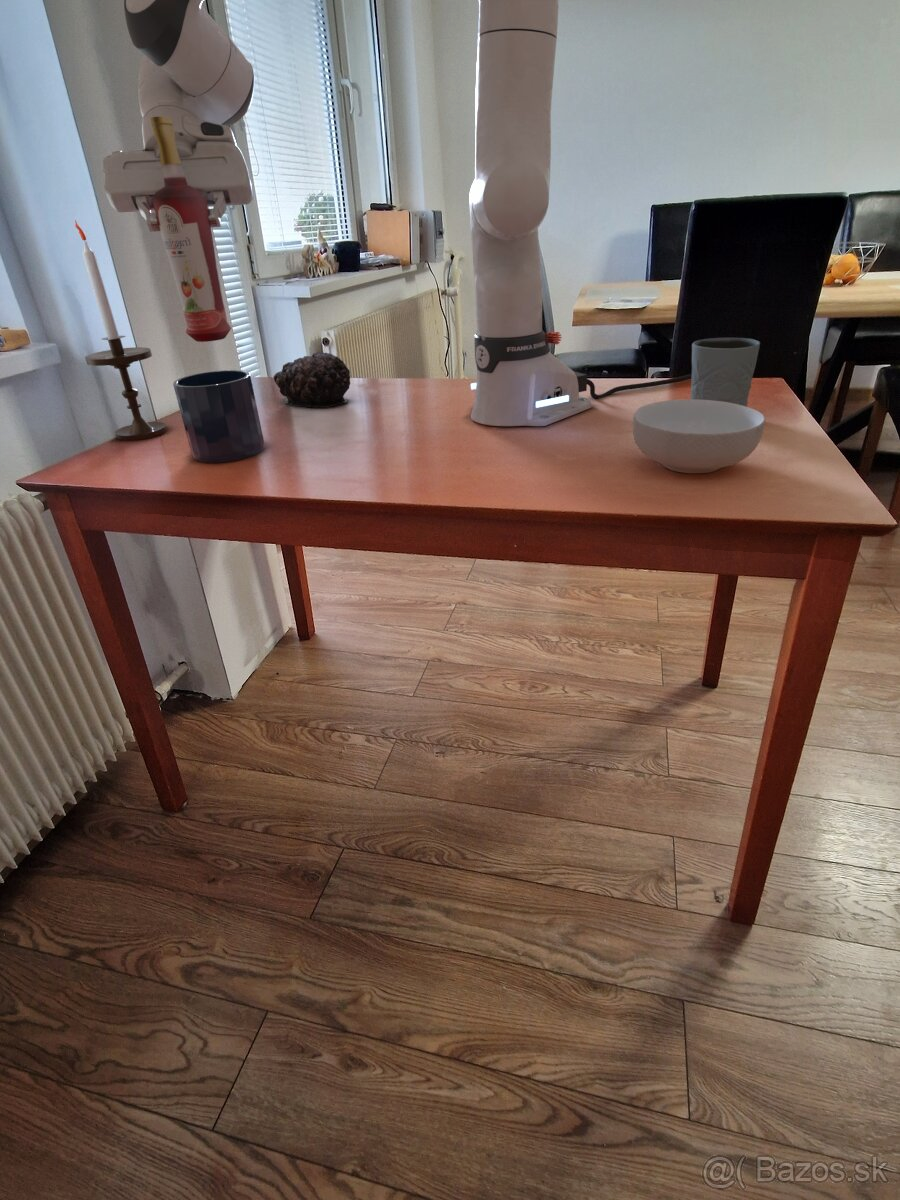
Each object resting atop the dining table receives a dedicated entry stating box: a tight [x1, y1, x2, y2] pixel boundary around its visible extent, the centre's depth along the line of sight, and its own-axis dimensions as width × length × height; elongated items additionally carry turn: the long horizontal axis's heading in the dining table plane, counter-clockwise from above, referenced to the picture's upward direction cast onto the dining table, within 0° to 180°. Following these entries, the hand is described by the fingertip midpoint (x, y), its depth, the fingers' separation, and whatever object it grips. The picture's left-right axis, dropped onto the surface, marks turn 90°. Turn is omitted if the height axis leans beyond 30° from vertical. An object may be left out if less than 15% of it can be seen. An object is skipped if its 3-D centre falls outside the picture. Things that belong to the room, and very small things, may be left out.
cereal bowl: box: [632, 398, 766, 474], centre depth 91 cm, size 17×17×7 cm
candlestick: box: [74, 219, 168, 442], centre depth 117 cm, size 11×11×35 cm
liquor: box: [150, 116, 233, 343], centre depth 96 cm, size 7×7×28 cm
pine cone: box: [273, 351, 351, 408], centre depth 135 cm, size 10×18×10 cm, turn 68°
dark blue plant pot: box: [172, 369, 266, 464], centre depth 109 cm, size 12×12×12 cm
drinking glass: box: [690, 337, 761, 407], centre depth 109 cm, size 10×10×12 cm
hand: (185, 226), depth 95 cm, fingers closed on liquor, 7 cm apart
